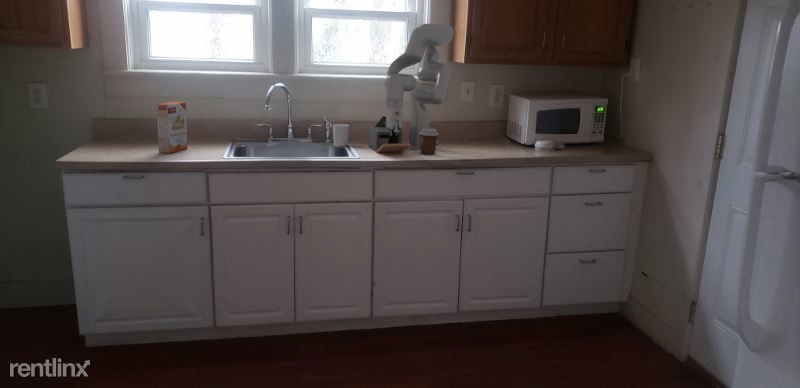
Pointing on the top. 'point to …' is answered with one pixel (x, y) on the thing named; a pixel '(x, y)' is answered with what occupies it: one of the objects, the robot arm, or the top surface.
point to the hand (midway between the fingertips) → (392, 144)
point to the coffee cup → (428, 141)
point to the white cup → (340, 134)
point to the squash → (382, 122)
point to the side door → (393, 148)
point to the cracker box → (172, 127)
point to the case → (381, 137)
